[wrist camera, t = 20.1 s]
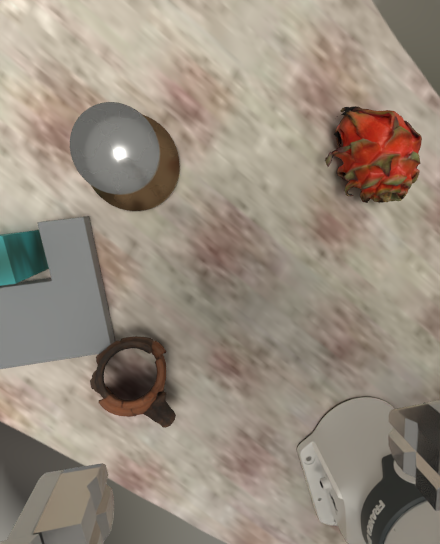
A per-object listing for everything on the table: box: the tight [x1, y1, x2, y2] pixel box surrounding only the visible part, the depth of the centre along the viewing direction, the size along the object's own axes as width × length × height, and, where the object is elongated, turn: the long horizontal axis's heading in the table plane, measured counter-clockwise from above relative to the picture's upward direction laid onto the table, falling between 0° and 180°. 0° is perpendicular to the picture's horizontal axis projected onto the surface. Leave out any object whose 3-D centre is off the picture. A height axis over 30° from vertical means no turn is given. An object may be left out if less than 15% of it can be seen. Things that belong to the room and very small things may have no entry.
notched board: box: [0, 217, 115, 369], centre depth 34 cm, size 16×16×2 cm
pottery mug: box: [90, 336, 176, 427], centre depth 37 cm, size 12×10×8 cm
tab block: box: [0, 230, 49, 286], centre depth 31 cm, size 4×4×7 cm
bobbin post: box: [70, 102, 180, 211], centre depth 29 cm, size 10×10×10 cm
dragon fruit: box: [325, 107, 422, 203], centre depth 33 cm, size 8×8×12 cm
